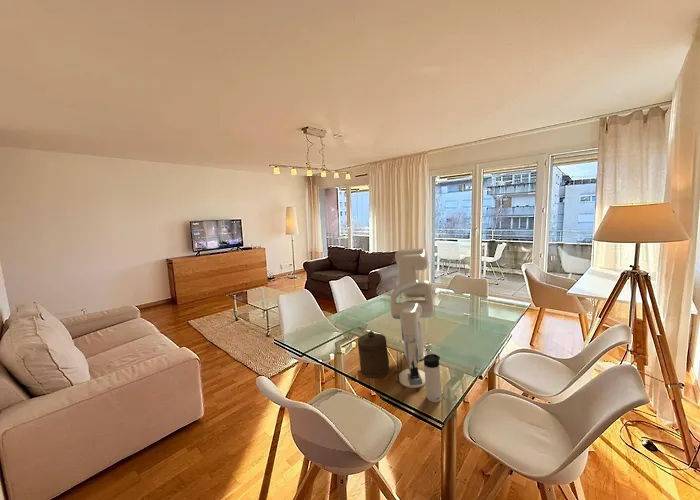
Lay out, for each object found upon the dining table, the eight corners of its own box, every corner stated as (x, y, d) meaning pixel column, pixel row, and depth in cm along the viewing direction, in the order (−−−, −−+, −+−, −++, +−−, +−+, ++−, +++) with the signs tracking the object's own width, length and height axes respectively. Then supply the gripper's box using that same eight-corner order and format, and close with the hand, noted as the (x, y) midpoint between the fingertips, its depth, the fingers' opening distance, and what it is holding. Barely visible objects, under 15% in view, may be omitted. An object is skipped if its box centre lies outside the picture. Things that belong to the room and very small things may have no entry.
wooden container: (371, 361, 157) (367, 324, 154) (395, 368, 147) (391, 329, 144) (355, 375, 146) (350, 335, 143) (379, 384, 136) (374, 341, 133)
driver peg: (410, 378, 132) (406, 356, 130) (417, 377, 132) (413, 355, 130) (411, 382, 128) (408, 360, 127) (419, 381, 128) (415, 359, 127)
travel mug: (442, 406, 117) (439, 361, 114) (426, 403, 119) (422, 359, 116) (443, 396, 122) (440, 353, 120) (427, 394, 125) (424, 352, 122)
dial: (397, 373, 141) (396, 365, 140) (422, 370, 141) (422, 362, 140) (402, 389, 128) (401, 381, 127) (430, 386, 128) (430, 378, 127)
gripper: (398, 329, 135) (402, 364, 138) (406, 345, 119) (409, 385, 122) (414, 327, 135) (417, 362, 138) (423, 343, 119) (427, 383, 122)
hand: (413, 372), depth 130 cm, fingers closed on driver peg, 3 cm apart
